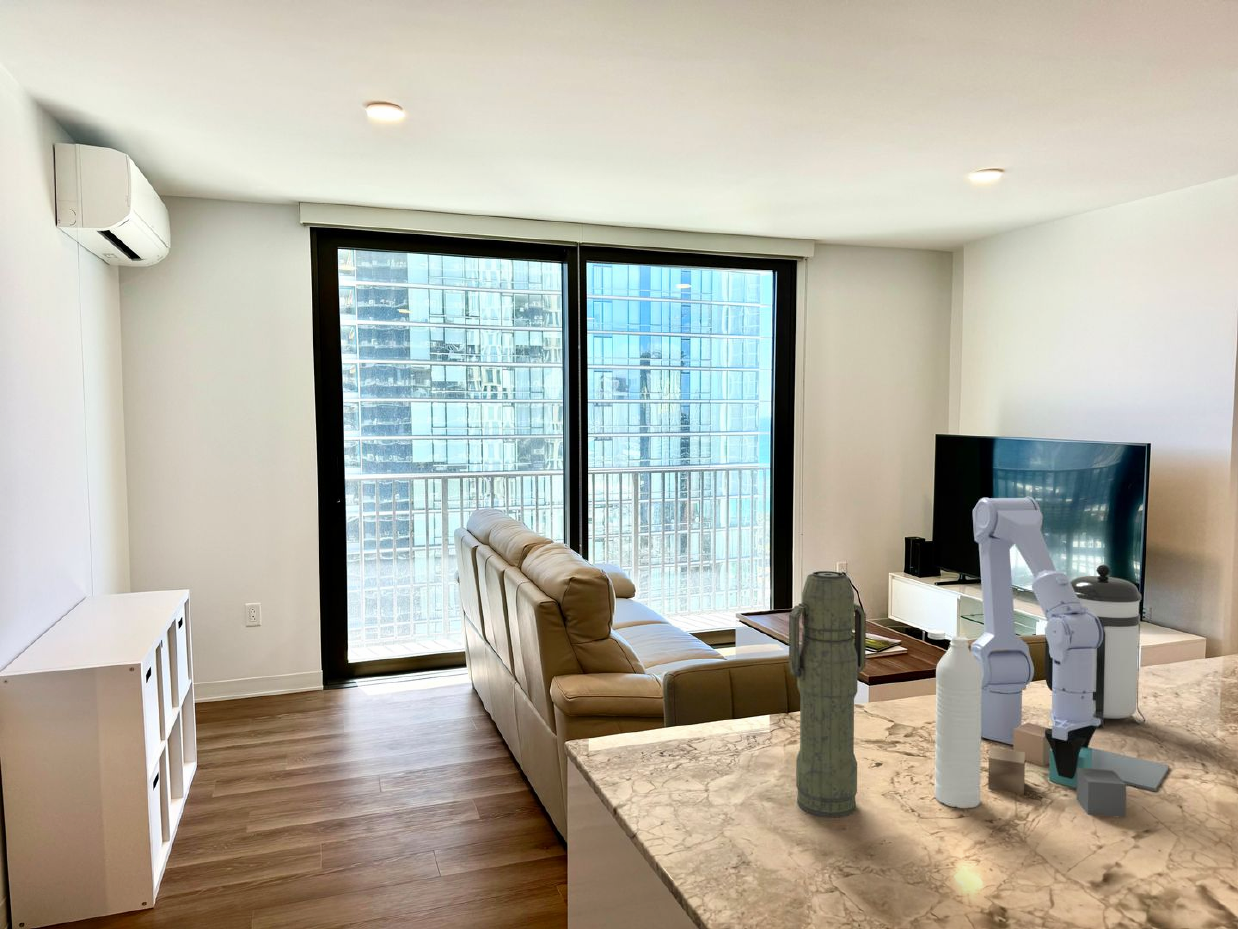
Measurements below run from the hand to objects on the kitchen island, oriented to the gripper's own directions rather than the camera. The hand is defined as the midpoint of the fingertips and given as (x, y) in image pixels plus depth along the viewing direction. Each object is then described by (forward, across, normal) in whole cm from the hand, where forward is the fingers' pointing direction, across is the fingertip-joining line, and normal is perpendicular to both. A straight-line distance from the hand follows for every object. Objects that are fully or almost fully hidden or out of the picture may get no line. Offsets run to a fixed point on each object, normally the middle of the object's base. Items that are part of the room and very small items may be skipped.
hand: (1070, 771), depth 134 cm
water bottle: (+2, -19, +12) cm, 23 cm away
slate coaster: (+1, +10, -5) cm, 11 cm away
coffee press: (+2, +35, +4) cm, 35 cm away
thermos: (+2, -34, +25) cm, 42 cm away
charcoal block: (+2, -8, -6) cm, 10 cm away
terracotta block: (+2, +6, +7) cm, 9 cm away
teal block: (+1, 0, 0) cm, 1 cm away
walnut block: (+2, -9, +7) cm, 12 cm away
